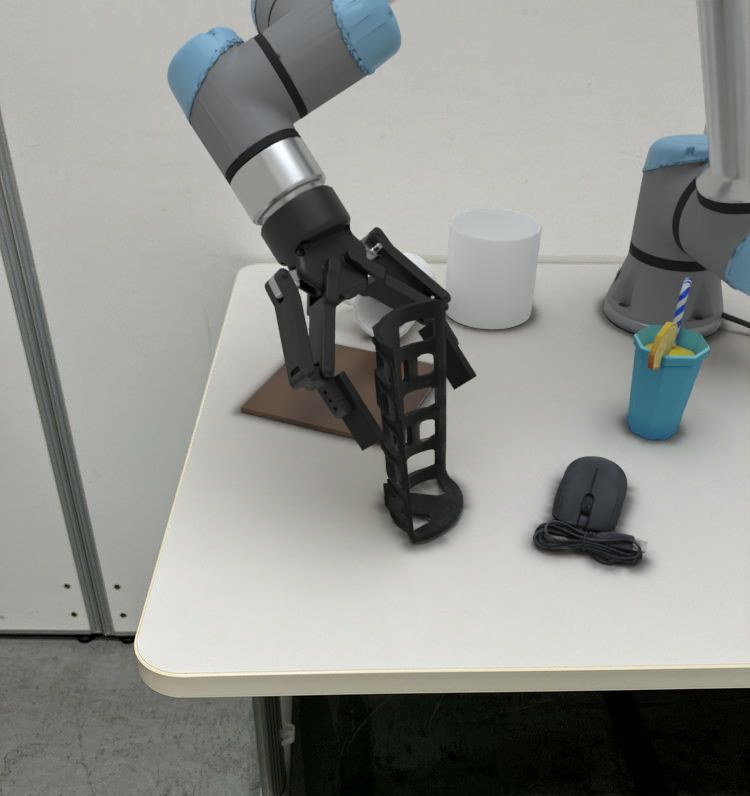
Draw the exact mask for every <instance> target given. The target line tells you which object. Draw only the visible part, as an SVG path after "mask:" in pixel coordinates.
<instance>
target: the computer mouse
mask: <svg viewBox="0 0 750 796" xmlns="http://www.w3.org/2000/svg"><path fill="white" fill-rule="evenodd" d="M627 491H628V478H627V475H626V473H625V471H624V470H623V468H622V467H621V466H620V465H619V464H617V463H616V462H614V461H613V460H610V459H609V458H606V457H602V456H596V455H587V456H581V457H578V458H576V459H574V460H573V461H571V462H570V463H569V464H568V465H567V466H566V469H565V471H564V473H563V476H562V478H561V480H560V482H559V484H558V487H557V489H556V492H555V496H554V500H553V504H552V510H551V511H552V512H551V516H552V518H553V520H550V521H547V522H543V523H541V524H539V525H538V526H537V527H536V529H535V530H534V533H533V535H532V541H533V543H534V544H535V545H536V546H538V547H540V548H541V549H544V550H563V549H580V551H581V552H586V551H587V552H588V553H589V554H590V555H591V556H592V557H594V559H596V560H598V561H599V562H601V563H603V564H605V565H610V566H611V565H615V564H617V562H618V563H624V564H628V565H636V564H638V563H639V562H640V561H642V559H643V557H644V556H643V554H646V552H647V548H648V540H645V539H640V538H636V537H635V536H634V535H632V534H627V533H622V532H617V531H615V530H616V527H617V525H618V522H619V520H620V516H621V513H622V509H623V506H624V501H625V499H626V496H627ZM546 536H547V537H548V538H547V537H546ZM556 537H560V538H556ZM565 538H566V539H565ZM597 555H598V556H597ZM599 556H601V557H604V558H606V559H607V560H605V559H602V558H601V557H599Z"/></svg>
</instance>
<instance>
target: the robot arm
mask: <svg viewBox="0 0 750 796" xmlns="http://www.w3.org/2000/svg"><path fill="white" fill-rule="evenodd" d="M398 1H399V0H250V15H251V19H252V23H253V25H254V28H255V30H256V32H257V34H256V35H255V36H252V37H250V38H249V39H247V40H246V41H245V40H244V39H243V38H242V37H240V36H239V35H238V33H237V32H236V31H235V30H233V29H232V28H231V27H227V26H215V27H211V28H210V29H208V31H206V32H204V33H203V32H200V33H197V34H196V35H194V36H193V37H191V38H190V39H188V40H187V41H186V42H185V43H184V44H183V45H182V46H181V47H180V48H179V49H178V50H177V51H176V52H175V54H174V55H173V57H172V59H171V60H170V62H169V65H168V68H167V72H166V73H167V74H166V78H167V84H168V87H169V89H170V92H171V93H172V94H173V96H174V98H175V100H176V102H177V103H178V105H179V107H180V109H181V110H182V112H183V114H184V116H185V117H186V120H187V122H188V123H189V125H190V126H191V128H192V129H193V131H194V133H195V134H196V135H197V138H198V139H199V140H200V142H201V144H202V145H203V147H204V148H205V150H206V151H207V152H208V154H209V156H210V157H211V159H212V160H213V162H214V163H215V165H216V166H217V168H218V169H219V171H220V173H221V174H222V176H223V177H224V178H225V180H226V182H227V183H228V185H229V186H230V188H231V190H232V192H233V193H234V195H235V196H236V198H237V200H238V201H239V202H240V204H241V206H242V208H243V209H244V210H245V212H246V214H247V216H248V217H249V218H250V221H252V223H253V224H254V225H256V226H261V227H260V237H261V238H262V240H263V241H264V243H265V244H266V246H267V247H268V249H269V250H270V252H271V254H272V255H273V257H274V258H275V260H276V261H277V263H278V264H279V265H280V266H283V267H282V268H279V269H278V270H277V271H276V272H275V273H274V274H272V276H271V277H270V278H269V279H268V280H266V282H265V283H264V290H265V292H266V294H267V296H268V298H269V299H270V301H271V302H270V303H272V305H273V307H274V312H275V317H276V323H277V329H278V333H279V339H280V343H281V348H282V353H283V354H282V355H283V360H284V364H285V365H286V370H287V376H288V381H289V384H290V386H291V387H292V388H293V389H295V390H298V389H300V388H301V387H304V388H305V389H306V390H307V391H314V390H315V389H316V390H317V391H318V392H319V394H320V395H321V397H322V398H323V400H324V402H325V403H326V405H327V406H328V408H329V409H330V411H331V413H332V414H333V416H335V417H336V418H337V419H340V418H342V420H343V421H344V423H345V424H346V426H347V428H348V429H349V431H350V432H351V434H352V435H353V437H354V438H353V439H354V440H355V442H356V444H357V445H358V447H359V448H360V450H361V452H363V451H365V450H368V448H370V447H372V446H374V445H376V443H377V442H378V441H380V440H382V439H383V438H385V437H386V436H385V435H384V433H383V431H382V430H381V428H380V427H379V425H378V424H377V422H376V420H375V419H374V417H373V416H372V414H371V412H370V411H369V409H368V408H367V406H366V405H365V403H364V401H363V400H362V398H361V397H360V395H359V393H358V392H357V390H356V389H355V387H354V386H353V384H352V382H351V381H350V379H349V378H348V376H347V375H346V373H345V371H343V372H341V373H339V374H338V375H336V376H335V377H334V373H335V344H336V313H337V312H336V310H337V307H338V306H340V305H341V304H342V303H343V301H344V300H350V299H352V298H354V297H356V296H357V295H358V294H359V295H361V296H364V297H366V296H370V297H372V298H374V299H376V300H377V301H379V302H381V303H383V304H385V305H387V306H388V307H390V308H392V309H396V308H398V307H401V306H404V305H407V304H411V303H415V302H420V301H425V300H432V299H437V300H443V301H444V302H445V308H446V311H447V310H448V308H449V305H448V303H449V302H450V301H451V296H450V294H449V293H448V292H447V291H446V290H445V287H443V286H441V285H440V284H439V283H438V282H437V281H436V282H435V281H434V280H433V279H432V278H431V277H429V276H428V275H427V274H426V273H425V272H424V271H422V270H421V269H420V268H419V267H418V266H417V265H415V264H414V263H413V262H412V261H411V260H410V259H408V258H407V257H406V256H405V255H404V254H402V253H403V252H402V251H400V250H399V249H398V248H397V247H396V246H394V244H393V243H392V242H391V240H390V239H389V238H388V236H387V235H386V234H385V232H384V231H383V230H382V229H381V228H380V227H379V226H375V227H373V228H372V229H371V230H370V231H369V232H368V233H366V235H365V236H364V237H363V238H361V239H359V238H357V236H355V234H354V233H353V232H352V230H351V219H352V218H351V215H350V213H349V211H348V210H347V208H346V207H345V205H344V204H343V202H342V200H341V199H340V197H339V196H338V194H337V193H336V191H335V189H334V188H333V186H331V185H328V184H325V183H326V179H327V177H326V173H325V172H324V171H323V170H322V169H323V168H321V166H320V164H319V163H318V161H317V160H316V158H315V156H314V155H313V154H312V152H311V150H310V149H309V148H308V146H307V144H306V142H305V141H304V139H303V138H302V136H301V135H300V133H299V131H298V130H297V129H296V126H295V125H294V124H295V123H297V122H298V121H300V120H301V119H304V118H305V117H307V116H308V115H309V114H311V113H312V112H313V111H315V110H317V109H318V108H320V107H322V106H323V105H324V104H326V103H328V102H329V101H331V100H332V99H334V98H335V97H337V96H338V95H340V94H342V93H343V92H345V90H347V89H349V88H350V87H352V86H353V85H355V84H357V83H358V82H360V81H361V80H362V79H364V78H366V77H367V76H370V75H371V76H372V75H373V74H375V72H376V70H377V69H379V68H380V67H382V65H384V64H385V63H386V62H388V61H389V60H390V59H391V58H393V57H394V56H395V55H396V54H397V53H398V52H399V51H400V48H401V46H402V34H401V29H400V26H399V23H398V21H397V18H396V15H395V14H394V12H393V9H392V7H391V6H392V5H393V4H395V3H396V2H398ZM695 7H696V21H697V31H698V32H697V33H698V43H699V55H700V57H699V58H700V68H701V69H700V70H701V78H702V79H701V80H702V93H703V104H704V105H703V107H704V117H705V130H706V134H703V133H701V134H700V133H699V134H697V133H694V134H693V133H691V134H689V133H688V134H687V133H686V134H676V135H668V136H664V137H661V138H659V139H657V140H655V141H654V142H652V143H651V145H650V146H649V148H648V150H647V155H646V158H645V162H644V165H643V167H642V170H641V173H642V177H641V182H640V183H641V184H640V189H639V193H638V199H637V205H636V209H635V215H634V221H633V226H632V232H631V237H630V241H629V248H628V252H627V255H626V257H625V258H624V261H623V262H622V264H621V265H619V267H618V269H617V270H616V273H615V276H614V278H613V281H612V282H611V284H610V286H609V288H608V290H607V292H606V294H605V298H604V299H605V300H604V305H603V310H604V313H605V316H606V317H607V318H608V320H610V321H611V323H613V324H614V325H616V326H618V327H619V328H621V329H623V330H626V331H627V332H629V333H633V334H636V333H638V332H639V331H641V330H643V329H644V328H646V327H648V326H649V325H665V323H666V322H673V320H674V316H675V312H676V307H677V303H678V299H679V295H680V291H681V286H682V284H683V282H684V280H685V278H688V277H689V278H691V280H692V283H691V287H690V290H689V293H688V297H687V301H686V305H685V309H684V313H683V317H682V321H681V325H680V327H683V328H686V329H688V330H691V331H694V332H697V333H699V334H701V335H702V337H703V338H706V337H708V336H710V335H712V334H714V333H715V332H716V331H718V330H719V328H720V327H721V325H722V324H721V323H722V319H723V320H726V321H728V322H731V323H734V324H736V325H739V326H742V327H745V328H747V329H749V330H750V321H748V320H745V319H743V318H740V317H737V316H735V315H731V314H729V313H727V312H724V297H723V296H724V295H723V285H722V282H724V283H725V284H727V285H728V286H729V288H731V289H733V290H735V291H739V292H740V293H742V294H745V295H746V296H748V297H750V0H695ZM284 267H287V269H286V268H284ZM368 275H369V277H368ZM300 291H302V292H304V293H305V294H306V316H305V310H304V305H303V300H302V296H301V293H300ZM432 295H433V298H431V296H432ZM307 316H308V325H307V321H306V317H307ZM415 323H418V324H420V325H422V328H420V329H418V330H417V333H418V334H419V336H420V338H421V339H422V340H427V339H429V338H431V337H432V335H433V321H432V320H431V319H426V318H425V319H418V320H415ZM459 345H460V343H459V339H458V337H457V336H456V334H455V333H454V331H453V328H452V327H451V326H450V324H449V322H448V321H447V320H446V380H448V382H449V384H450V385H451V387H452V389H453V391H454V390H456V389H459V388H460V387H461V386H463V385H465V384H466V383H468V382H470V381H471V380H473V379H475V378H476V377H478V375H477V373H476V372H475V370H474V368H473V367H472V365H471V364H470V362H469V361H468V359H467V357H466V355H465V354H464V352H463V350H462V349H461V348H460V346H459Z"/></svg>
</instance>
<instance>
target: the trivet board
mask: <svg viewBox="0 0 750 796" xmlns="http://www.w3.org/2000/svg"><path fill="white" fill-rule="evenodd" d="M376 368H377V363H376V351H372V350H368V349H362V348H358V347H352V346H347V345H342V344H338V343H335V373H334V377H335V376H336V375H338V374H339V373H341V372H343V371H345V373H346V375H347V376H348V378H349V379H350V381H351V382H352V384H353V386H354V387H355V389H356V390H357V392H358V393H359V395H360V397H361V398H362V400H363V401H364V403H365V405H366V406H367V408H368V409H369V411H370V412H371V414H372V416H373V417H374V419H375V420H376V422H377V424H378V425H379V427H380V428H381V430H382V431H383V429H382V419H381V410H380V408H379V406H378V405H377V400H376V389H375V378H374V369H376ZM433 369H434V363H430V362H425V361H420V360H418V375H419V376H420V375H425V374H429V373H431V372H432V371H433ZM401 373H402V380H403V379H404V365H403V362H402V364H401ZM432 389H433V388H431V387H429V388H424V389H420V390H415V391H413V392H410V393H407V394H406V396H405V397H404V414H405V413H408V412H410V411H413V410H416V409H419V408H420V407H421V405H422V403H423V402H424V401H425V399H426V398H427V396H428V395H429V393H430V392H431V391H432ZM240 412H241V413H245V414H248V415H249V414H250V415H253V416H258V417H261V418H262V417H263V418H266V419H270V420H275V421H280V422H283V423H287V424H292V425H295V426H296V425H297V426H300V427H304V428H309V429H313V430H317V431H321V432H326V433H329V434H334V435H338V436H342V437H345V438H346V437H347V438H351V439H354V437H353V435H352V434H351V432H350V431H349V429H348V428H347V426H346V424H345V423H344V421H343V420H342V418H340V419H337V418H336V417H335V416H333V414H332V413H331V411H330V409H329V408H328V406H327V405H326V403H325V402H324V400H323V398H322V397H321V395H320V394H319V392H318V391H317V390H316V389H315V390H314V391H307V390H306V389H305V388H304V387H301V388H300V389H298V390H295V389H293V388H292V387H291V386H290V384H289V381H288V376H287V370H286V365H285V363H283V365H281V366H280V367H279V368H278V369H277V371H275V373H273V374H272V375H271V376H270V377H269V378H268V379H267V380H266V381H265V382H264V383H263V384H262V385H261V386H260V387H259V388H258V389H257V391H255V392H254V393H253V394H252V395H251V396H250V397H249V398H248V399H247V400H246V401H245V403H243V405H242V406H241V407H240ZM375 445H380V441H378V442H377V443H375Z"/></svg>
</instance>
